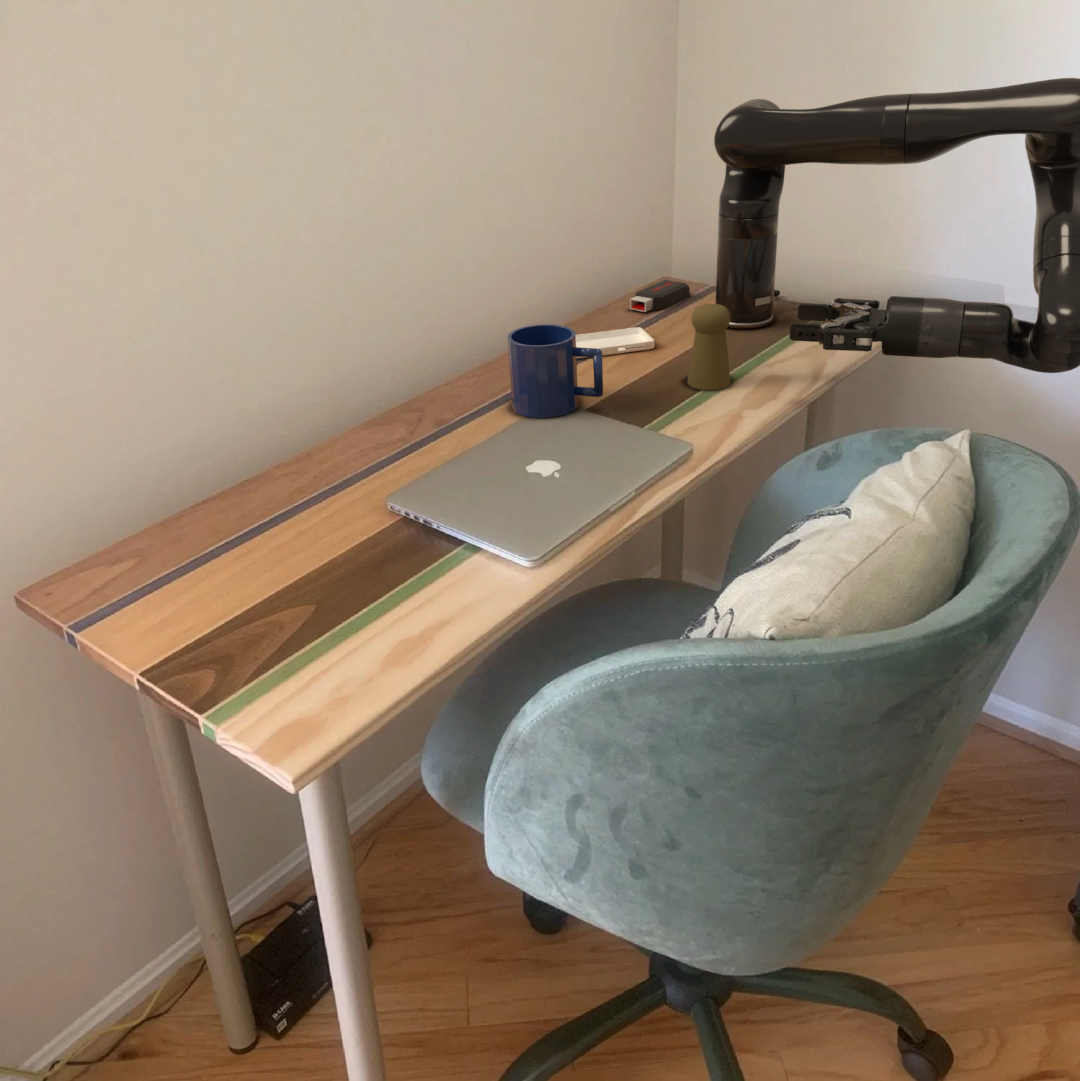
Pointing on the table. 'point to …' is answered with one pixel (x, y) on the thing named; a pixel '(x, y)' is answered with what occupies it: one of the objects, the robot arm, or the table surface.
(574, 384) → the mug
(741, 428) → the table surface
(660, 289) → the usb drive
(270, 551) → the table surface
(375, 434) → the table surface
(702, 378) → the olive pawn figure
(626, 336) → the phone case
